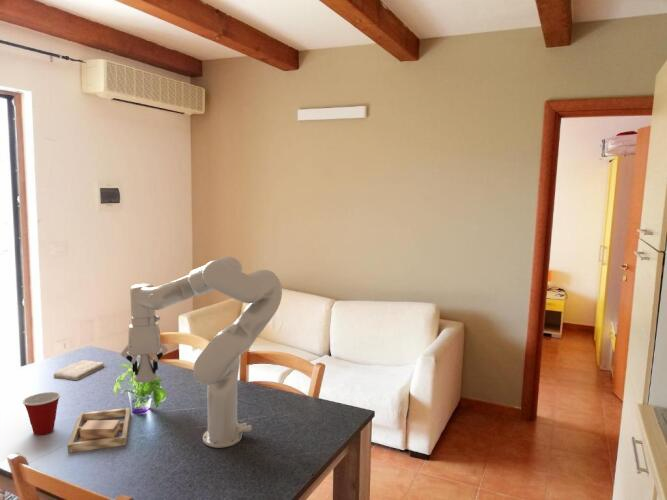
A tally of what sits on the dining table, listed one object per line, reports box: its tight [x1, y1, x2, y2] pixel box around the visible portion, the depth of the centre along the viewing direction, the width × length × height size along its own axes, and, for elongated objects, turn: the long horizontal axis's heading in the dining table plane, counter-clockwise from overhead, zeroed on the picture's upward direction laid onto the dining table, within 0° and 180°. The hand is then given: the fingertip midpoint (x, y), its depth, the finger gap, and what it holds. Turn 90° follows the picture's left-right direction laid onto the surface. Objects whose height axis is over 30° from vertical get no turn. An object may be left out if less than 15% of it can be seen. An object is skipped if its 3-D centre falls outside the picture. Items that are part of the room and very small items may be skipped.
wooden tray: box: [67, 407, 131, 453], centre depth 165 cm, size 16×22×2 cm
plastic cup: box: [22, 391, 61, 436], centre depth 164 cm, size 11×11×12 cm
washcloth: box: [53, 359, 105, 381], centre depth 215 cm, size 12×18×3 cm, turn 167°
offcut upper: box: [79, 419, 121, 439], centre depth 159 cm, size 10×6×3 cm, turn 95°
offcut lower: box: [80, 431, 119, 442], centre depth 159 cm, size 10×6×3 cm, turn 105°
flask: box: [133, 354, 158, 384], centre depth 167 cm, size 7×7×10 cm
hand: (145, 372), depth 168 cm, fingers closed on flask, 5 cm apart
